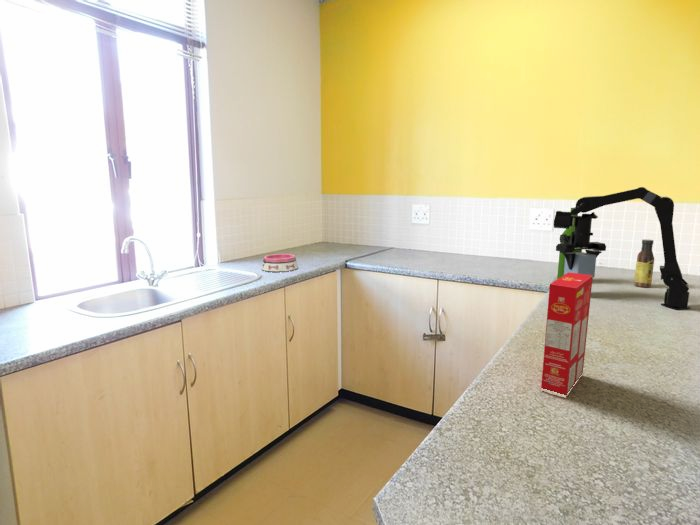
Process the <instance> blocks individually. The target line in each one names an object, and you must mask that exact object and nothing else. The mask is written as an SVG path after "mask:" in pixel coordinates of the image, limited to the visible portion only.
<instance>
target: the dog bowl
mask: <svg viewBox="0 0 700 525" xmlns="http://www.w3.org/2000/svg"><path fill="white" fill-rule="evenodd" d="M298 269H299V267H298V262H297V259H296V256H295V255H294V254H290V253H274V254H268V255H265V256H264V257H263V261H262V266H261V271H262V272H264V271H265V273H271V272H272V274H273V273H275V274H277V273H279V274H280V272H282V273H290V272H294V270H295V271H297V270H298ZM289 271H290V272H289Z"/></svg>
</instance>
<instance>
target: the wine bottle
mask: <svg viewBox="0 0 700 525" xmlns="http://www.w3.org/2000/svg"><path fill="white" fill-rule="evenodd" d="M574 208H575V207H571V208H570V211H571V210H573V209H574ZM573 216H579V213H578V214H576V215H573ZM574 230H575V218H574V225H573V226H571V227H570V229H564V231H563V232H562V234H566V235H567V236H570V235H571V233H572V231H574ZM559 244H564V243H561V242H560V241H559ZM558 252H559V253H558V265H557V276H556V280H557V279H559V278H560V277H562V276H564V267H565V256H564V254H563V253H560V251H558ZM575 252H583V249H582V250H574V252H573V253H575Z"/></svg>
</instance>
